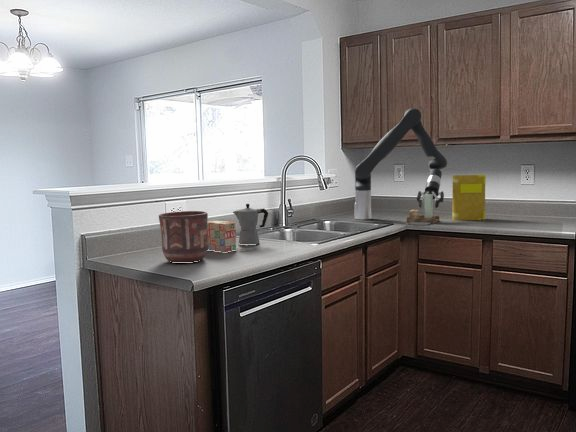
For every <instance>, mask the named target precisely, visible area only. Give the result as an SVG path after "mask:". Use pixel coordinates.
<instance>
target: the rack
mask: <svg viewBox="0 0 576 432" xmlns="http://www.w3.org/2000/svg"><path fill="white" fill-rule="evenodd" d="M412 222H427V223H431V224H433V225H435V224H437V223H438V222H440V215H433V217H432V218H425V214H424V215H423V214H422V215H421V214H420V217H409V216H407V217H406V223H408V224H409V223H412Z"/></svg>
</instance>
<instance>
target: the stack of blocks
mask: <svg viewBox="0 0 576 432" xmlns="http://www.w3.org/2000/svg"><path fill="white" fill-rule="evenodd" d="M236 233H237V231H236V222H233V221H229V220H228V221H227V220H209V221H208V220H207V239H208V249H209V250H215V251H221V252H228V251H232V250H236V251H237V244H236V243H237V241H236V239H237V234H236Z"/></svg>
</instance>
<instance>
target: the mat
mask: <svg viewBox="0 0 576 432" xmlns="http://www.w3.org/2000/svg"><path fill="white" fill-rule="evenodd" d="M431 224H432V223H427V222H412V223H408V225H409V226H429V225H431Z"/></svg>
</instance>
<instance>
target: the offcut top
mask: <svg viewBox="0 0 576 432" xmlns="http://www.w3.org/2000/svg"><path fill="white" fill-rule="evenodd" d="M419 214H420V209H411V210H409V211H408V217H409V216H417V215H419Z"/></svg>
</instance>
